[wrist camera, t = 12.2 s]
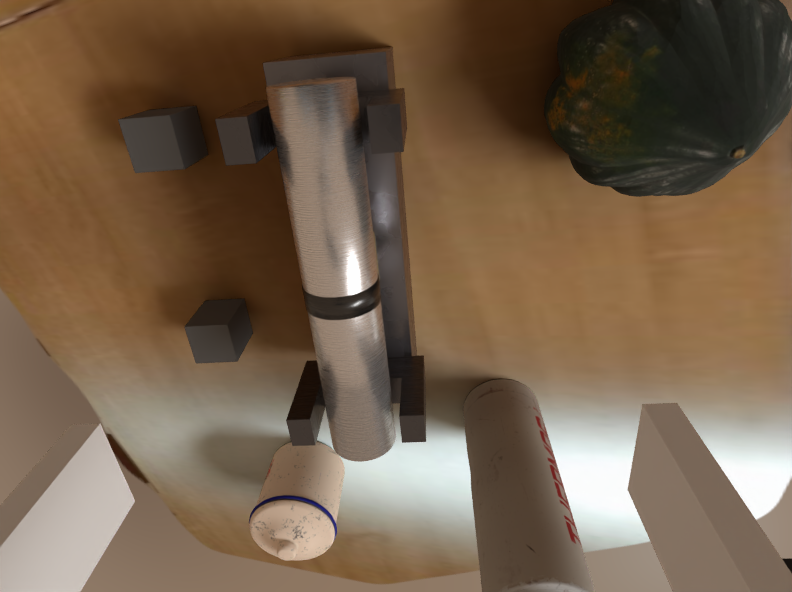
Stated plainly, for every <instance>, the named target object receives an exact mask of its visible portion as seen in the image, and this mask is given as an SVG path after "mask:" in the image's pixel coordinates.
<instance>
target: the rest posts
mask: <svg viewBox="0 0 792 592" xmlns="http://www.w3.org/2000/svg"><path fill="white" fill-rule="evenodd" d="M118 121H119V124H120V127H121V130H122V133H123V136H124V139H125V143H126V146H127V149H128V152H129V155H130V158H131V161H132V165H133V168H134V171H135V173H142V172H155V171H168V170H181V169H186V168H187V167H189V166H191V165H192V164H194V163H196V162H197V161H199V160H201V159H202V158H204V157H206V156H207V155H208V152H207V148H206V144H205V140H204V136H203V132H202V127H201V123H200V119H199V115H198V111H197V107H196V106H188V107H176V108H165V109H153V110H147V111H144V112H141V113H138V114H135V115H131V116H128V117H125V118H122V119H118ZM185 330H186V334H187V337H188V340H189V343H190V346H191V349H192V352H193V356H194V359H195V362H196V363H215V362H237V361H238V359H239V358H240V356H241V354H242V352H243V350H244V348H245V347H246V345H247V343H248V341H249V339H250V338H251V336H252V334H253V332H252V328H251V324H250V320H249V316H248V312H247V308H246V304H245V300H244V299H228V300H210V301H204V303H203V304H202V305H201V306H200V308H199V309H198V310H197V312H196V313H195V314H194V315H193V317H192V318H191V319H190V320H189V322H188V323H187V324H186V325H185Z"/></svg>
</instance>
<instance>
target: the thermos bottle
mask: <svg viewBox="0 0 792 592" xmlns="http://www.w3.org/2000/svg"><path fill="white" fill-rule="evenodd" d="M463 414H464V424H465V433H466V443H467V452H468V459H469V465H470V472H471V489H472V499H473V509H474V518H475V528H476V537H477V547H478V556H479V566H480V575H481V584H482V592H596V591H595V588H594V585H593V582H592V578H591V575H590V572H589V568H588V565H587V562H586V559H585V555H584V552H583V549H582V546H581V542H580V539H579V536H578V532H577V529H576V526H575V523H574V519H573V516H572V513H571V510H570V506H569V503H568V500H567V496H566V493H565V490H564V487H563V484H562V480H561V477H560V474H559V470H558V467H557V464H556V460H555V457H554V454H553V451H552V447H551V444H550V441H549V438H548V434H547V431H546V428H545V424H544V421H543V418H542V415H541V411H540V408H539V405H538V402H537V399H536V397H535V395H534V393H533V392H532V391H531V390H530V389H529V388H528V387H527V386H525V385H524V384H522V383H519V382H517V381H513V380H507V379H496V380H492V381H488V382H485V383H483V384H481V385H479V386H477V387H476V388H475V389H474V390H472V391H471V392H470V394H469V395H468V396H467V398H466V400H465V402H464V407H463Z"/></svg>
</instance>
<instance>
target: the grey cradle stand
mask: <svg viewBox="0 0 792 592" xmlns="http://www.w3.org/2000/svg"><path fill="white" fill-rule="evenodd" d="M263 67H264V73H265V78H266V83H267V86H270V85H274V84H279V83H285V82H292V81H299V80H308V79H318V78H330V77H355V78H356V84H357V93H358V102H359V111H360V119H361V128H362V137H363V146H364V155H365V164H366V173H367V182H368V191H369V200H370V208H371V217H372V226H373V235H374V244H375V253H376V262H377V271H378V275H379V282H380V291H381V306H382V315H383V324H384V333H385V342H386V351H387V360H388V369H389V378H390V387H391V395H392V403H400V415H399V417H400V426H401V436H402V443H403V442H426V384H425V367H424V356H416V353H417V350H416V337H415V325H414V312H413V300H412V287H411V275H410V262H409V250H408V237H407V225H406V213H405V200H404V188H403V175H402V163H401V152H403V151H404V145H405V138H406V131H407V120H406V106H405V93H404V88H400V89H396V88H395V76H394V63H393V51H392V47H385V48H374V49H364V50H353V51H342V52H332V53H321V54H310V55H300V56H290V57H286V58H282V59H277V60H273V61H269V62H265V63H263ZM215 121H216V125H217V129H218V133H219V138H220V142H221V146H222V150H223V155H224V159H225V163H226V165H239V164H252V163H257V162H258V161H260V160H261V159H262V158H263V157H264V156H266V155H267V154H268V153H269V152H270V151H272V150H273V149H274V148H275V147H276V141H275V136H274V130H273V125H272V120H271V114H270V109H269V104H268V100H262V101H254V102H252V103H250V104H247V105H245V106H243V107H241V108H239V109H236V110H234V111H232V112H230V113H228V114H225V115H223V116H221V117H219V118H217V119H215ZM324 410H325V401H324V396H323V390H322V385H321V380H320V375H319V369H318V364H317V360H315V361H307V362H306V365H305V367H304V370H303V373H302V376H301V379H300V382H299V385H298V388H297V391H296V394H295V396H294V399H293V402H292V405H291V408H290V411H289V414H288V417H287V420H286V421H287V425H288V429H289V434H290V438H291V442H292V446H310V445H316V441H317V437H318V433H319V429H320V425H321V421H322V417H323V414H324Z"/></svg>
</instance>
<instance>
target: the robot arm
mask: <svg viewBox="0 0 792 592" xmlns="http://www.w3.org/2000/svg"><path fill="white" fill-rule="evenodd" d="M628 491H629V493H630V496H631V498H632V500H633V502H634V505H635V507H636V509H637V512H638V514H639V516H640V518H641V521H642V523H643V525H644V527H645V530H646V532H647V534H648V536H649V539H650V541H651V543H652V545H653V547H654V550H655V552H656V555H657V557H658V559H659V561H660V564H661V566H662V568H663V570H664V572H665V574H666V577H667V579H668V582H669V584H670V586H671V588H672V591H673V592H792V559H782V558H781V557H780V555H779V554H778V552H777V551H776V549H775V548H774V546H773V545H772V543H771V542H770V540H769V539H768V537H767V536H766V534H765V533H764V532H763V530H762V529H761V527H760V525H759V524H758V523H757V521H756V519H755V518H754V517H753V515H752V514H751V512H750V511H749V509H748V508H747V506H746V505H745V503H744V502H743V500H742V499H741V497H740V496H739V494H738V493H737V491H736V490H735V488H734V487H733V485H732V484H731V482H730V481H729V479H728V478H727V476H726V475H725V473H724V472H723V470H722V469H721V467H720V466H719V465H718V463H717V462H716V460H715V459H714V457H713V456H712V454H711V453H710V451H709V450H708V448H707V447H706V445H705V444H704V442H703V441H702V439H701V438H700V436H699V435H698V433H697V432H696V430H695V429H694V427H693V426H692V424H691V423H690V421H689V420H688V418H687V417H686V416H685V414H684V413H683V411H682V410H681V408H680V407H679V405H678V404H677V403H663V404H642V410H641V416H640V422H639V427H638V433H637V439H636V445H635V451H634V456H633V462H632V468H631V474H630V480H629V485H628ZM134 502H135V500H134V498H133V495H132V493H131V491H130V489H129V487H128V484H127V482H126V480H125V478H124V475H123V473H122V471H121V469H120V467H119V464H118V462H117V460H116V458H115V455H114V453H113V451H112V449H111V447H110V444H109V442H108V440H107V438H106V436H105V433H104V431H103V429H102V427H101V424H74V425H70V427H69V428H68V429H67V430H66V431H65V432H64V433H63V434H62V436H61V437H60V438H59V439H58V440H57V441H56V442H55V444H54V445H53V446H52V447H51V448H50V449H49V450H48V451H47V453H46V454H45V455H44V456H43V457H42V458H41V459H40V461H39V462H38V463H37V464H36V465H35V466H34V467H33V469H32V470H31V471H30V472H29V473H28V474H27V475H26V477H25V478H24V479H23V480H22V481H21V482H20V483H19V485H18V486H17V487H16V488H15V489H14V490H13V491H12V493H11V494H10V495H9V496H8V497H7V498H6V499H5V500H4V502H3V503H2V504H1V505H0V592H80V591H81V590H82V588H83V586H84V585H85V583H86V581H87V579H88V578H89V576H90V575H91V573H92V571H93V570H94V568H95V566H96V565H97V563H98V561H99V560H100V558H101V556H102V555H103V553H104V551H105V550H106V548H107V546H108V545H109V543H110V541H111V540H112V538H113V537H114V535H115V533H116V532H117V530H118V528H119V527H120V525H121V523H122V522H123V520H124V518H125V516H126V515H127V513H128V512H129V510H130V508H131V507H132V505H133V503H134Z"/></svg>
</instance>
